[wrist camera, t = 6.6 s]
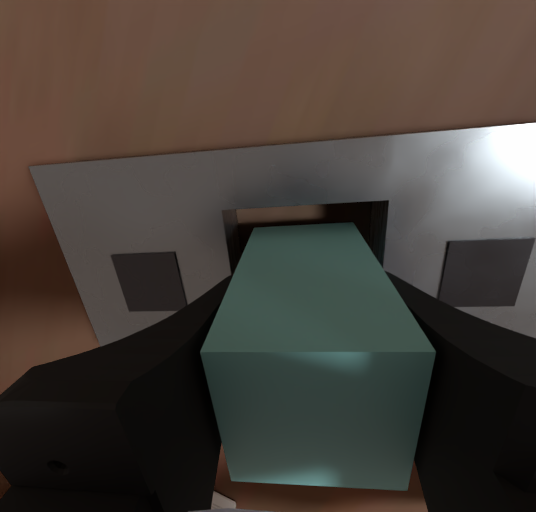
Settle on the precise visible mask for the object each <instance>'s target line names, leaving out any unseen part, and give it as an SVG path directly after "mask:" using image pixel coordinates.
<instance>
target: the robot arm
mask: <svg viewBox="0 0 536 512" xmlns="http://www.w3.org/2000/svg"><path fill="white" fill-rule="evenodd" d="M385 273H386V274H387V276H388V278H389V279H390V281H391V282H392V284H393V285H394V287H395V288H396V290H397V292H398V293H399V295H400V296H401V298H402V299H403V301H404V303H405V304H406V306H407V307H408V309H409V310H410V312H411V313H412V315H413V317H414V318H415V320H416V321H417V323H418V324H419V326H420V327H421V329H422V331H423V332H424V334H425V335H426V337H427V338H428V340H429V342H430V343H431V345H432V346H433V348H434V349H435V351H436V355H435V360H434V364H433V369H432V374H431V379H430V384H429V389H428V393H427V398H426V403H425V408H424V413H423V418H422V422H421V427H420V432H419V437H418V442H417V447H416V451H415V456H414V461H415V464H416V468H417V471H418V475H419V479H420V482H421V486H422V490H423V494H424V498H425V501H426V505H427V509H428V512H536V338H533V337H530V336H527V335H524V334H521V333H518V332H515V331H512V330H509V329H506V328H504V327H501V326H498V325H495V324H493V323H490V322H488V321H485V320H483V319H480V318H478V317H475V316H473V315H470V314H468V313H466V312H463V311H461V310H459V309H457V308H455V307H453V306H451V305H448V304H446V303H444V302H442V301H440V300H438V299H436V298H434V297H433V296H431V295H429V294H427V293H425V292H423V291H421V290H420V289H418V288H416V287H414V286H413V285H411V284H409V283H407V282H406V281H404V280H402V279H400V278H399V277H397V276H395V275H393V274H391V273H389V272H387V271H385ZM232 277H233V275H230V276H228V277H226V278H225V279H223V280H222V281H221V282H219V283H218V284H217V285H215V286H214V287H213V288H211V289H210V290H208V291H207V292H206V293H204V294H203V295H202V296H200V297H199V298H197V299H196V300H194V301H193V302H191V303H190V304H188V305H187V306H185V307H184V308H182V309H181V310H179V311H177V312H176V313H174V314H172V315H171V316H169V317H167V318H165V319H163V320H161V321H159V322H158V323H156V324H154V325H152V326H150V327H147V328H145V329H143V330H141V331H138V332H136V333H134V334H132V335H129V336H127V337H125V338H122V339H120V340H117V341H115V342H112V343H109V344H107V345H104V346H101V347H98V348H95V349H92V350H90V351H86V352H83V353H80V354H77V355H74V356H70V357H67V358H63V359H60V360H56V361H53V362H49V363H46V364H42V365H38V366H34V367H32V368H31V369H29V370H28V371H27V372H26V373H25V374H24V375H23V376H21V377H20V378H19V379H18V380H17V381H16V382H15V383H13V384H12V385H11V386H10V387H9V388H8V389H7V390H5V391H4V392H3V393H2V394H1V395H0V471H1V472H2V474H3V475H4V476H5V478H6V479H7V480H8V482H9V483H10V484H11V485H12V486H11V487H10V488H9V490H8V491H7V492H6V493H5V494H4V496H3V497H2V498H1V499H0V512H273V511H259V510H246V509H233V508H223V509H212V510H211V505H212V498H213V492H214V485H215V479H216V473H217V466H218V460H219V454H220V449H221V443H222V441H221V437H220V432H219V428H218V424H217V420H216V416H215V412H214V408H213V404H212V399H211V395H210V391H209V387H208V383H207V379H206V375H205V370H204V366H203V362H202V358H201V354H200V351H201V349H202V346H203V344H204V342H205V340H206V337H207V335H208V333H209V330H210V328H211V326H212V323H213V321H214V319H215V316H216V314H217V312H218V310H219V307H220V305H221V303H222V300H223V298H224V296H225V293H226V291H227V289H228V286H229V284H230V282H231V280H232Z"/></svg>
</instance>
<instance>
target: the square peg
mask: <svg viewBox="0 0 536 512" xmlns="http://www.w3.org/2000/svg"><path fill="white" fill-rule="evenodd" d="M200 354H201V358H202V362H203V366H204V370H205V375H206V379H207V383H208V387H209V391H210V395H211V399H212V404H213V408H214V412H215V416H216V420H217V424H218V428H219V432H220V437H221V441H222V445H223V449H224V453H225V457H226V461H227V466H228V470H229V474H230V478H231V481H239V482H257V483H275V484H293V485H311V486H329V487H347V488H365V489H383V490H401V491H407V490H408V485H409V480H410V476H411V471H412V466H413V461H414V456H415V451H416V447H417V442H418V437H419V432H420V427H421V422H422V418H423V413H424V408H425V403H426V398H427V393H428V389H429V384H430V379H431V374H432V369H433V364H434V360H435V355H436V351H435V349H434V348H433V346H432V345H431V343H430V342H429V340H428V338H427V337H426V335H425V334H424V332H423V331H422V329H421V327H420V326H419V324H418V323H417V321H416V320H415V318H414V317H413V315H412V313H411V312H410V310H409V309H408V307H407V306H406V304H405V303H404V301H403V299H402V298H401V296H400V295H399V293H398V292H397V290H396V288H395V287H394V285H393V284H392V282H391V281H390V279H389V278H388V276H387V274H386V273H385V271H384V270H383V268H382V267H381V265H380V263H379V262H378V260H377V259H376V257H375V256H374V254H373V253H372V251H371V249H370V248H369V246H368V245H367V243H366V242H365V240H364V239H363V237H362V235H361V234H360V232H359V231H358V229H357V228H356V226H355V224H354V223H353V222H347V223H329V224H311V225H293V226H275V227H256V228H254V229H253V231H252V233H251V236H250V238H249V240H248V243H247V245H246V247H245V250H244V252H243V254H242V256H241V259H240V261H239V263H238V266H237V268H236V270H235V273H234V275H233V277H232V280H231V282H230V284H229V286H228V289H227V291H226V293H225V296H224V298H223V300H222V303H221V305H220V307H219V310H218V312H217V314H216V316H215V319H214V321H213V323H212V326H211V328H210V330H209V333H208V335H207V337H206V340H205V342H204V344H203V346H202V349H201V351H200Z"/></svg>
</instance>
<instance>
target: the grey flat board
mask: <svg viewBox="0 0 536 512" xmlns="http://www.w3.org/2000/svg"><path fill="white" fill-rule="evenodd" d="M29 169H30V172H31V174H32V177H33V179H34V182H35V184H36V187H37V189H38V192H39V194H40V197H41V199H42V202H43V204H44V207H45V209H46V212H47V214H48V217H49V219H50V222H51V224H52V227H53V229H54V232H55V234H56V237H57V239H58V242H59V244H60V247H61V249H62V252H63V254H64V257H65V259H66V262H67V264H68V267H69V269H70V272H71V274H72V277H73V279H74V282H75V284H76V287H77V289H78V292H79V294H80V297H81V299H82V302H83V304H84V307H85V309H86V312H87V314H88V317H89V319H90V322H91V324H92V327H93V329H94V332H95V334H96V337H97V339H98V342H99V344H100V347H101V346H104V345H107V344H109V343H112V342H115V341H117V340H120V339H122V338H125V337H127V336H129V335H132V334H134V333H136V332H138V331H141V330H143V329H145V328H147V327H150V326H152V325H154V324H156V323H158V322H159V321H161V320H163V319H165V318H167V317H169V316H171V315H172V314H174V313H176V312H177V311H179V310H181V309H182V308H184V307H185V306H187V305H188V304H190V303H191V302H193V301H194V300H196V299H197V298H199V297H200V296H202V295H203V294H204V293H206V292H207V291H208V290H210V289H211V288H213V287H214V286H215V285H217V284H218V283H219V282H221V281H222V280H223V279H225V278H226V277H228V276H230V275H234V273H235V270H236V268H237V266H238V263H239V261H240V259H241V256H242V254H241V246H240V238H239V230H238V223H237V215H236V209H247V208H264V207H281V206H298V205H315V204H332V203H349V202H366V201H372V203H371V218H370V234H369V248H370V249H371V251H372V253H373V254H374V256H375V257H376V259H377V260H378V262H379V263H380V265H381V267H382V268H383V270H384V271H387V272H389V273H391V274H393V275H395V276H397V277H399V278H400V279H402V280H404V281H406V282H407V283H409V284H411V285H413V286H414V287H416V288H418V289H420V290H421V291H423V292H425V293H427V294H429V295H431V296H433V297H434V298H436V299H438V300H440V301H442V302H444V303H446V304H448V305H451V306H453V307H455V308H457V309H459V310H461V311H463V312H466V313H468V314H470V315H473V316H475V317H478V318H480V319H483V320H485V321H488V322H490V323H493V324H495V325H498V326H501V327H504V328H506V329H509V330H512V331H515V332H518V333H521V334H524V335H527V336H530V337H533V338H536V122H528V123H516V124H505V125H493V126H482V127H470V128H458V129H447V130H435V131H424V132H412V133H400V134H389V135H377V136H366V137H354V138H342V139H331V140H319V141H308V142H296V143H284V144H273V145H261V146H250V147H238V148H226V149H215V150H203V151H192V152H180V153H168V154H157V155H145V156H134V157H122V158H110V159H99V160H87V161H76V162H66V163H57V164H47V165H38V166H29Z"/></svg>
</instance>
